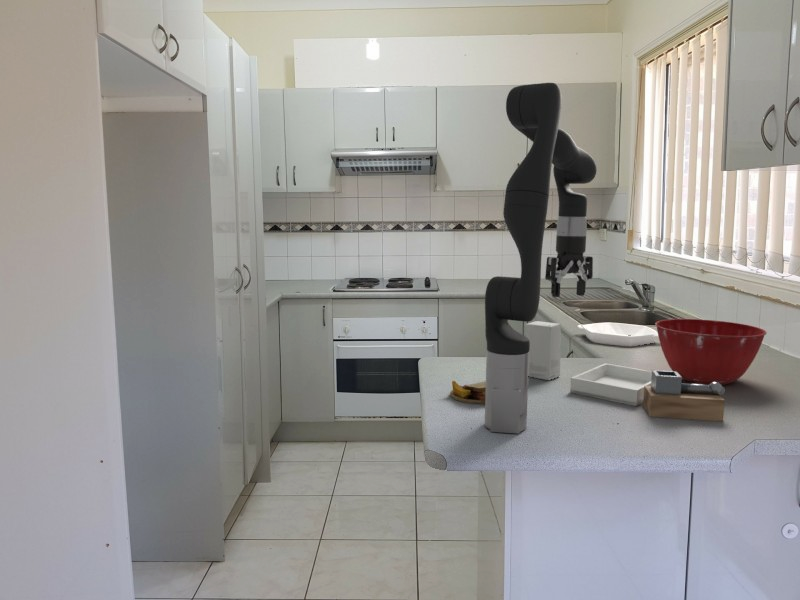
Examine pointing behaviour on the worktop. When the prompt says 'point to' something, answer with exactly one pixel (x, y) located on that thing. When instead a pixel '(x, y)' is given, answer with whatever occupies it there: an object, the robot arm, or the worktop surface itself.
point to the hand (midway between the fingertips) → (568, 296)
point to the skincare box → (544, 349)
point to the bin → (613, 383)
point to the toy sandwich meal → (469, 392)
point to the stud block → (684, 405)
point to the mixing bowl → (709, 348)
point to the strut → (680, 385)
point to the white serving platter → (619, 334)
